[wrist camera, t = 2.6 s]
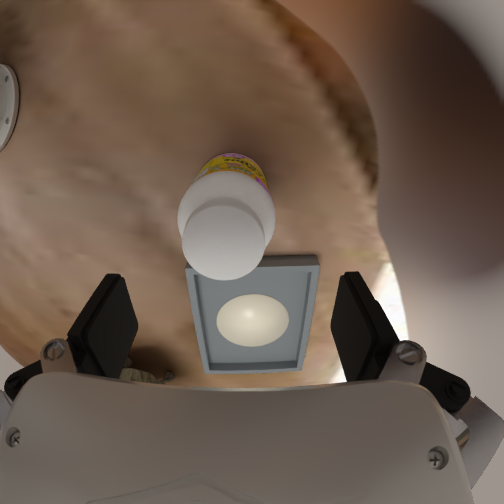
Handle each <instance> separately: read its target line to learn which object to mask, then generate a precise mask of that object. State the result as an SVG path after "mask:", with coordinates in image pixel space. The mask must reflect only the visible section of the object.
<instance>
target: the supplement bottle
mask: <svg viewBox="0 0 504 504" xmlns="http://www.w3.org/2000/svg"><path fill="white" fill-rule="evenodd" d="M177 222H178V228H179V232H180V235H181V237H182V249H183V253H184V255H185V258H186V259H187V261H188V263H189V264H190V265H191V266H192V267H193V268H194V269H195V270H196V271H197V272H199V273H200V274H202V275H204V276H206V277H208V278H211V279H215V280H234V279H238V278H240V277H243V276H245V275H247V274H248V273H250V272H251V271H252V270H254V269H255V267H256V266H257V265H258V264H259V262H260V261H261V259H262V257H263V254H264V250H265V248H266V247H267V245H268V244H269V242H270V240H271V238H272V236H273V233H274V230H275V224H276V214H275V209H274V205H273V202H272V199H271V195H270V192H269V189H268V186H267V182H266V179H265V176H264V174H263V172H262V170H261V168H260V167H259V166H258V165H257V164H256V163H255V162H254V161H253V160H252V159H250V158H248V157H246V156H244V155H241V154H236V153H227V154H222V155H219V156H216V157H214V158H212V159H211V160H210V161H208V162H207V163H206V164H205V165H204V166H203V168H202V169H201V170H200V171H199V173H198V174H197V176H196V177H195V179H194V180H193V182H192V183H191V185H190V187H189V188H188V189H187V191H186V193H185V194H184V196H183V198H182V200H181V202H180V205H179V208H178V216H177Z"/></svg>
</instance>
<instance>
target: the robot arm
mask: <svg viewBox="0 0 504 504" xmlns="http://www.w3.org/2000/svg"><path fill="white" fill-rule="evenodd" d="M18 105H19V89H18V82H17V78H16V76H15V73H14V71H13V70H12V69H11V67H9V66H8V65H5V64H0V151H1V150H2V149H3V148H4V147H5V145H6V143H7V142H8V140H9V138H10V136H11V134H12V131H13V128H14V125H15V122H16V117H17V112H18ZM137 331H138V322H137V319H136V315H135V312H134V309H133V306H132V303H131V300H130V296H129V293H128V290H127V286H126V283H125V279H124V278H123V277H121V275H120V274H106V276H105V277H104V278H103V280H102V281H101V283H100V284H99V286H98V287H97V289H96V290H95V291H94V293H93V294H92V296H91V297H90V299H89V300H88V302H87V303H86V305H85V307H84V308H83V310H82V311H81V313H80V314H79V316H78V317H77V319H76V321H75V322H74V324H73V325H72V327H71V329H70V330H69V332H68V334H67V335H68V338H67V340H64V339H61V338H56V339H52V340H50V341H49V342H47V343H46V344H45V345H44V346H43V348H42V349H41V352H40V359H41V360H39V361H37V362H35V363H32V364H30V365H28V366H26V367H24V368H22V369H20V370H19V371H16V372H14V373H13V374H11V375H10V376H9V377H8V378H7V380H6V382H5V385H4V390H5V391H2V390H0V504H474V503H473V497H472V492H471V489H472V488H473V487H474V485H475V484H476V482H477V481H478V479H479V478H480V476H481V475H482V473H483V471H484V470H485V469H486V467H487V466H488V464H489V462H490V461H491V459H492V457H493V456H494V454H495V452H496V450H497V449H498V447H499V445H500V443H501V441H502V439H503V438H504V420H503V419H502V418H501V417H500V416H499V415H498V414H496V413H495V412H494V411H493V410H492V409H490V408H489V407H488V406H487V405H486V404H485V403H483V402H482V401H481V400H480V399H478V398H477V397H476V396H475V397H474V398H472V397H471V396H470V394H471V392H470V388H469V386H468V384H467V383H466V382H465V381H464V380H463V379H462V378H460V377H458V376H456V375H453V374H451V373H449V372H447V371H445V370H443V369H441V368H438V367H436V366H434V365H432V364H430V363H428V362H426V358H427V356H426V352H425V350H424V349H423V347H421V346H420V345H419V344H417V343H416V342H413V341H409V340H403V341H400V340H399V339H398V337H397V335H396V333H395V331H394V329H393V327H392V325H391V324H390V322H389V320H388V318H387V316H386V314H385V313H384V311H383V309H382V307H381V305H380V304H379V302H378V301H377V300H375V299H374V297H373V295H372V293H371V292H370V290H369V288H368V286H367V285H366V283H365V281H364V280H363V278H362V276H361V275H360V273H359V272H358V271H356V272H345V274H344V275H341V277H340V280H339V286H338V291H337V296H336V301H335V305H334V310H333V315H332V319H331V332H332V335H333V338H334V341H335V344H336V347H337V350H338V354H339V357H340V360H341V364H342V367H343V370H344V374H345V377H346V380H347V382H343V383H333V384H322V385H309V386H295V387H276V388H208V387H189V386H175V385H163V384H153V383H144V382H136V381H129V380H122V379H119V378H120V375H121V372H122V369H123V367H124V364H125V361H126V359H127V356H128V353H129V351H130V348H131V346H132V343H133V341H134V338H135V336H136V333H137Z"/></svg>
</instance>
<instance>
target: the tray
mask: <svg viewBox="0 0 504 504" xmlns="http://www.w3.org/2000/svg"><path fill="white" fill-rule="evenodd" d="M319 268H320V264H319V262H318V260H317V258H316V256H315V255H291V256H263V257H262V259H261V261H260V262H259V264H258V265H257V266H256V267H255V269H254V270H252V271H251V272H250V273H248V274H247V275H245V276H243V277H240V278H238V279H234V280H215V279H211V278H208V277H206V276H204V275H202V274H200V273H199V272H197V271H196V270H195V269H194V268H193V267H192V266H191V265H190V264H189V263H188V261H187V264H186V267H185V271H186V278H187V284H188V290H189V296H190V302H191V308H192V313H193V319H194V324H195V330H196V335H197V340H198V345H199V350H200V355H201V359H202V364H203V369H204V373H205V374H247V373H273V372H289V371H301V370H302V367H303V362H304V357H305V352H306V347H307V342H308V336H309V331H310V325H311V320H312V314H313V308H314V302H315V295H316V289H317V282H318V275H319Z"/></svg>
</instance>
